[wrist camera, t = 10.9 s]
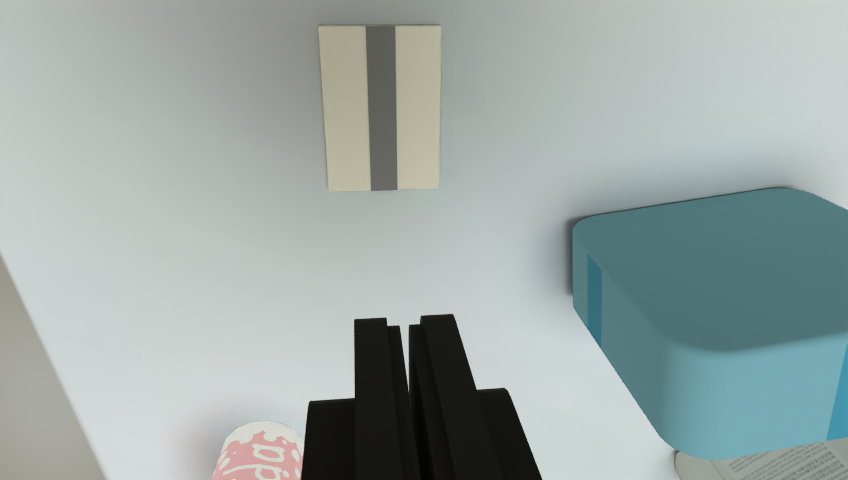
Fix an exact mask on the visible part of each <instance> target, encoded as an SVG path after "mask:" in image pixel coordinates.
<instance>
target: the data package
mask: <svg viewBox="0 0 848 480" xmlns="http://www.w3.org/2000/svg"><path fill="white" fill-rule="evenodd" d="M572 252H573V306H574V309H575V311H576V312H577V314H578V315H579V317H580V318H581V320H582V321H583V323H584V324H585V326H586V327H587V329H588V330H589V332H590V333H591V335H592V336H593V338H594V339H595V341H596V342H597V344H598V345H599V347H600V348H601V350H602V351H603V353H604V354H605V356H606V357H607V359H608V360H609V362H610V363H611V365H612V366H613V368H614V369H615V371H616V372H617V374H618V375H619V377H620V378H621V380H622V381H623V383H624V384H625V386H626V387H627V388H628V390H629V391H630V393H631V394H632V396H633V397H634V399H635V400H636V402H637V403H638V405H639V406H640V408H641V409H642V411H643V412H644V414H645V415H646V417H647V418H648V420H649V421H650V423H651V424H652V426H653V427H654V429H655V430H656V432H657V433H658V434H659V436H660V437H661V438H662V439H663V440H664V441H665V442H666V443H667V444H669V445H670V446H671V447H673V448H674V449H676V450H678V451H680V452H682V453H684V454H687V455H689V456H692V457H696V458H700V459H707V460H723V459H730V458H736V457H741V456H747V455H752V454H758V453H763V452H769V451H775V450H780V449H786V448H791V447H797V446H802V445H808V444H814V443H819V442H825V441H830V440H836V439H841V438H847V437H848V210H846V209H844V208H842V207H840V206H838V205H836V204H834V203H832V202H829V201H827V200H825V199H823V198H821V197H819V196H817V195H814V194H812V193H809V192H805V191H801V190H795V189H786V188H771V189H763V190H756V191H750V192H743V193H737V194H730V195H724V196H718V197H711V198H705V199H698V200H692V201H685V202H679V203H672V204H666V205H660V206H653V207H647V208H640V209H634V210H627V211H621V212H614V213H608V214H602V215H595V216H591V217H587V218H585V219H582V220H581V221H579V222H578V223H577V224H576V225H575V226H574V227H573V230H572Z"/></svg>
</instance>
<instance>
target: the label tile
mask: <svg viewBox="0 0 848 480" xmlns="http://www.w3.org/2000/svg"><path fill="white" fill-rule="evenodd" d="M441 29H442V26H440V25H319V26H318V33H319V49H320V64H321V80H322V96H323V111H324V127H325V143H326V158H327V174H328V189H329V192H336V191H368V190H371V191H380V190H400V189H432V188H439V150H440V90H441Z"/></svg>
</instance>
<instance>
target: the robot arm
mask: <svg viewBox="0 0 848 480" xmlns="http://www.w3.org/2000/svg"><path fill="white" fill-rule="evenodd" d="M354 346H355V398H349V399H334V400H319V401H310V402H309V405H308V413H307V423H306V432H305V442H304V452H303V461H302V471H301V480H542V478H541V475H540V472H539V470H538V467H537V465H536V462H535V459H534V457H533V454H532V452H531V449H530V446H529V444H528V441H527V438H526V436H525V433H524V431H523V428H522V425H521V423H520V420H519V418H518V415H517V412H516V410H515V407H514V405H513V402H512V399H511V397H510V395H509V393H508V391H507V390H506V389H505V388H497V389H482V390H477V389H476V386H475V383H474V380H473V376H472V373H471V370H470V367H469V363H468V360H467V357H466V353H465V350H464V347H463V344H462V340H461V337H460V334H459V331H458V327H457V324H456V321H455V318H454V315H453V314H444V315H426V316H421V319H420V324H416V325H409V391H408V384H407V376H406V369H405V362H404V355H403V348H402V340H401V333H400V326H399V325H398V326H387V319H386V318H370V319H354Z"/></svg>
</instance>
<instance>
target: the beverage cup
mask: <svg viewBox="0 0 848 480" xmlns="http://www.w3.org/2000/svg"><path fill="white" fill-rule="evenodd" d="M303 452H304V442H303V441H302V439H301V438H300V436H299V435H298V433H297V432H295V431H294V430H292V429H290V428H289V427H287V426H286V425H284V424H279V423H275V422H270V421H260V422H250V423H248V424H246V425H243V426H241V427H239V428H236V429H235V430H234V431H233V432H232V433H231V434H230V435H229V436H228V437H227V438H226V440H225V442H224V445H223V448H222V451H221V453H220V456H219V459H218V462H217V464H216V467H215V470H214V472H213V475H212V478H211V480H301V471H302V461H303Z"/></svg>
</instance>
